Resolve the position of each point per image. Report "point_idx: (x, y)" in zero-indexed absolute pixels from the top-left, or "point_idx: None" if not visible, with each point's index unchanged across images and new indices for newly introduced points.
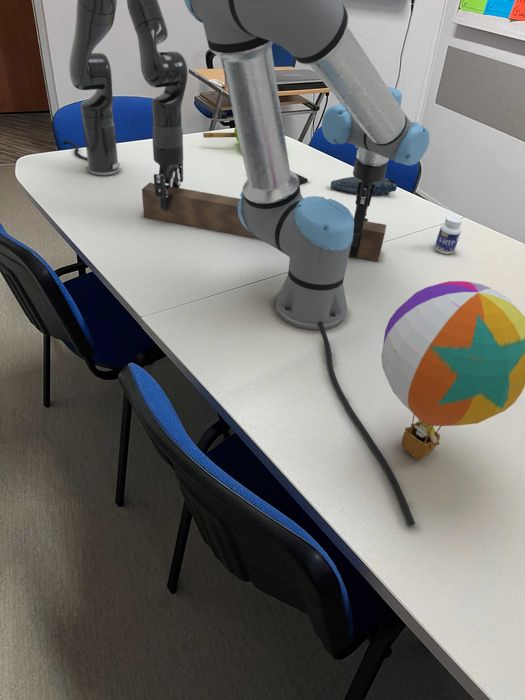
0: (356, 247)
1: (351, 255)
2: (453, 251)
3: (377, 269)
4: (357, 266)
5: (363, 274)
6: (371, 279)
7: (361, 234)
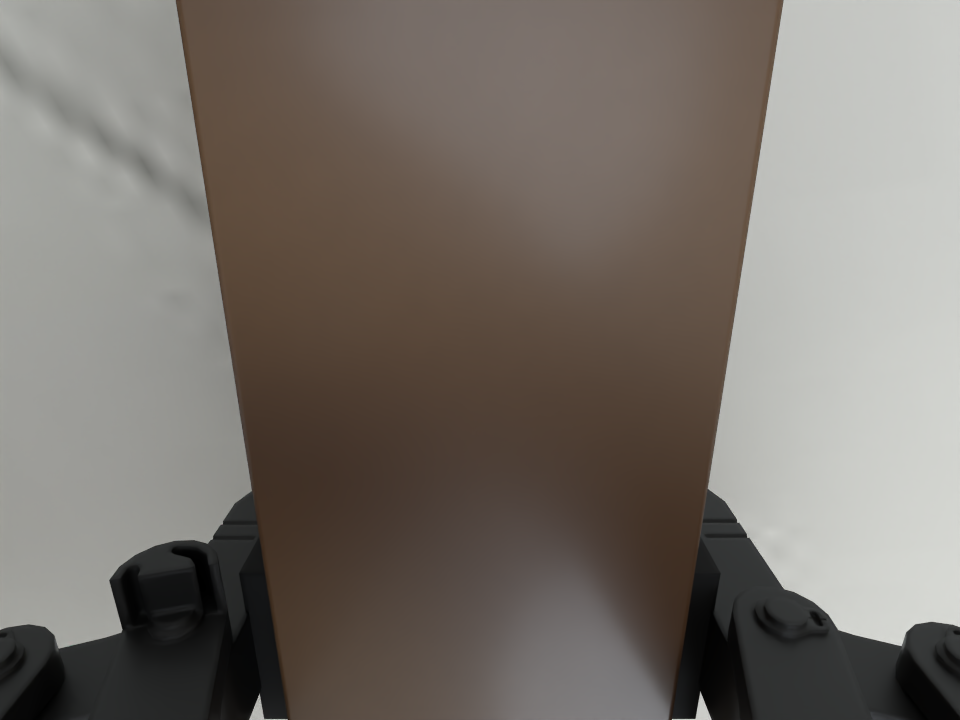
0: None
1: None
2: None
3: None
4: (214, 494)
5: (100, 552)
6: (59, 612)
7: (268, 703)
